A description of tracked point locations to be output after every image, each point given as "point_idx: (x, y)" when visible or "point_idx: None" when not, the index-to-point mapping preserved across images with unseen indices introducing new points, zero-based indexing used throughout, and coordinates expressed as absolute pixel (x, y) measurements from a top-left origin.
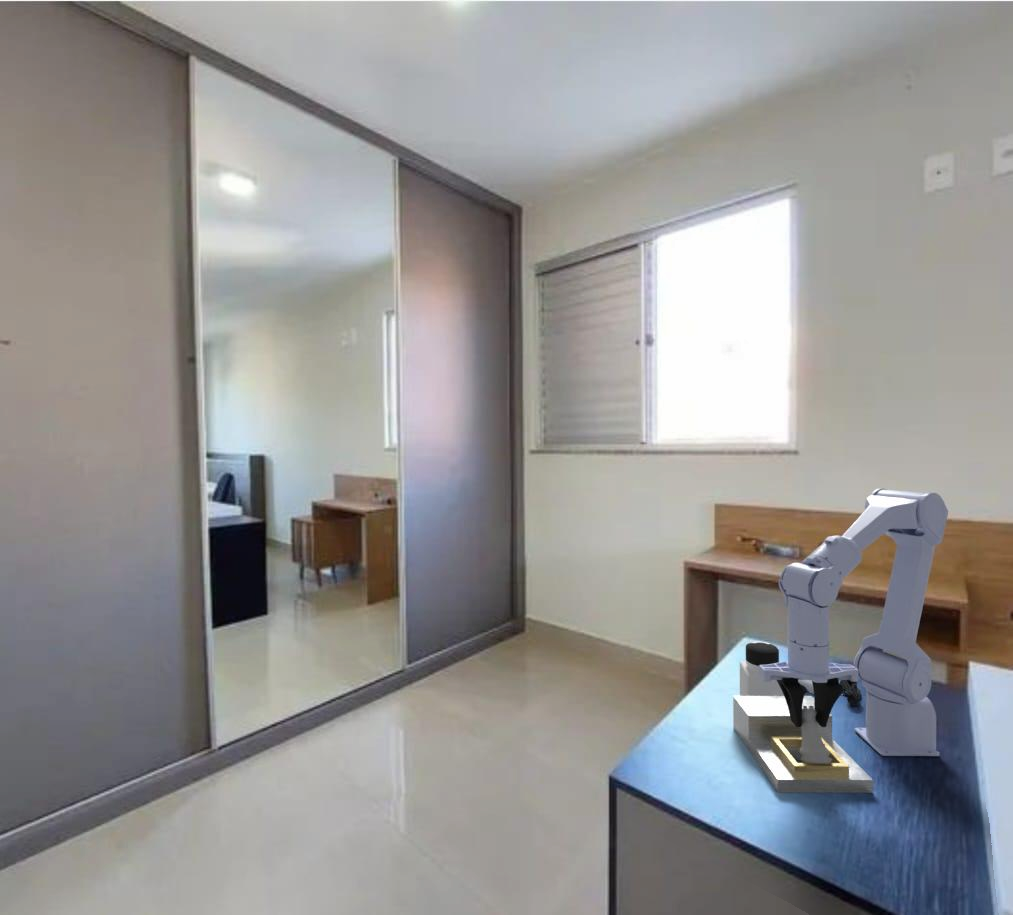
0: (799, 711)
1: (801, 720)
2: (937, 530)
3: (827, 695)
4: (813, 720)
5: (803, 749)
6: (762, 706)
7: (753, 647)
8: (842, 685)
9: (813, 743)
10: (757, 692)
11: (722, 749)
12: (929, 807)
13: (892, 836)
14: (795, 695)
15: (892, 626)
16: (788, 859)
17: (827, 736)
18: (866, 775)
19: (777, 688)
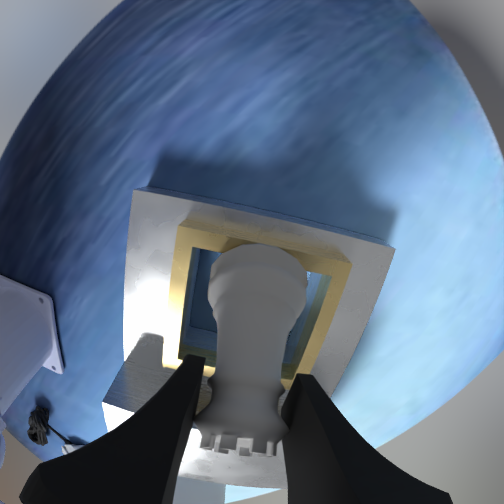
0: (333, 423)
1: (307, 391)
2: None
3: (164, 494)
4: (238, 387)
5: (303, 305)
6: (268, 465)
7: None
8: (45, 438)
9: (275, 306)
10: (207, 486)
11: (371, 384)
12: (72, 126)
13: (229, 48)
14: (413, 491)
15: None
16: (466, 81)
17: (133, 368)
18: (135, 211)
19: None
